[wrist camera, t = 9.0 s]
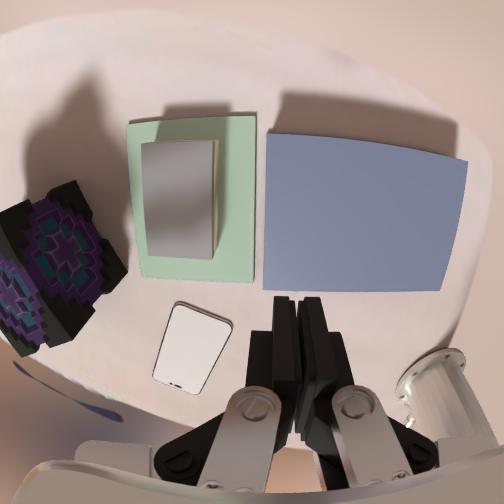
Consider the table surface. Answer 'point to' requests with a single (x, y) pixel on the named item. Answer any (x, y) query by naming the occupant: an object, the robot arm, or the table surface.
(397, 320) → the table surface
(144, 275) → the mat
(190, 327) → the smartphone
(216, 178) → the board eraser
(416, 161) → the textbook
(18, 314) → the energy cube
